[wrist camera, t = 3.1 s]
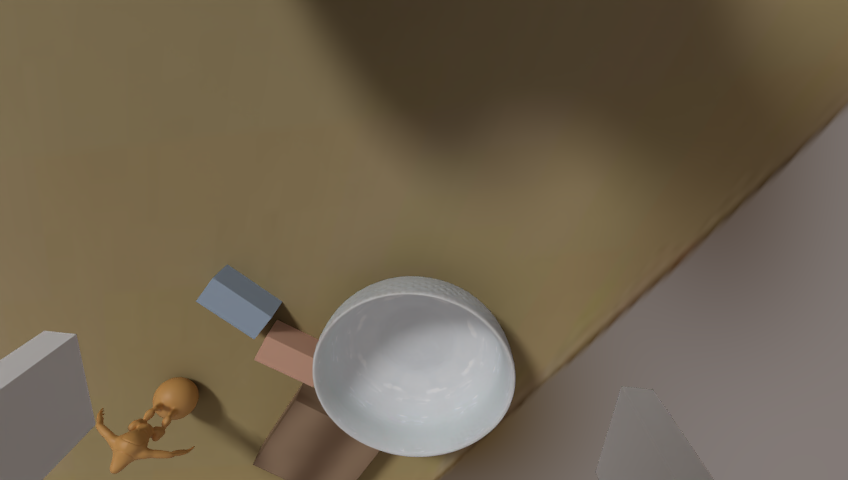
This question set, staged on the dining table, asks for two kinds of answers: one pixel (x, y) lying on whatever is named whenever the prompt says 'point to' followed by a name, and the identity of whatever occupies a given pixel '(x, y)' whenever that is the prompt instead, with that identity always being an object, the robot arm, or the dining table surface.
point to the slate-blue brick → (239, 301)
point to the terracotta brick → (289, 352)
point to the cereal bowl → (414, 367)
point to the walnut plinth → (312, 444)
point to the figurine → (169, 404)
